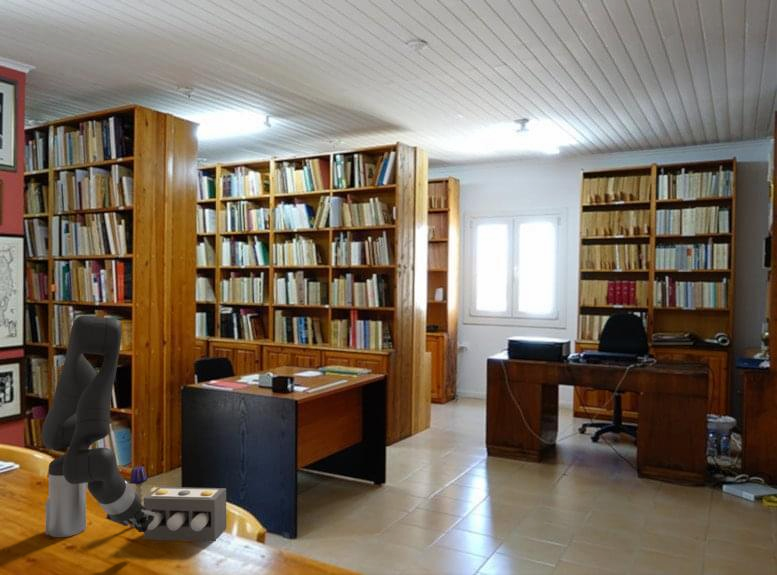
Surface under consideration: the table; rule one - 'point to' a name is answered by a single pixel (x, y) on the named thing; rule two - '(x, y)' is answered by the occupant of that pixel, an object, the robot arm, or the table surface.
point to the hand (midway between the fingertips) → (143, 528)
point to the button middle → (177, 520)
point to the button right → (200, 521)
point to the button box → (188, 512)
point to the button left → (157, 519)
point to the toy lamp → (138, 480)
